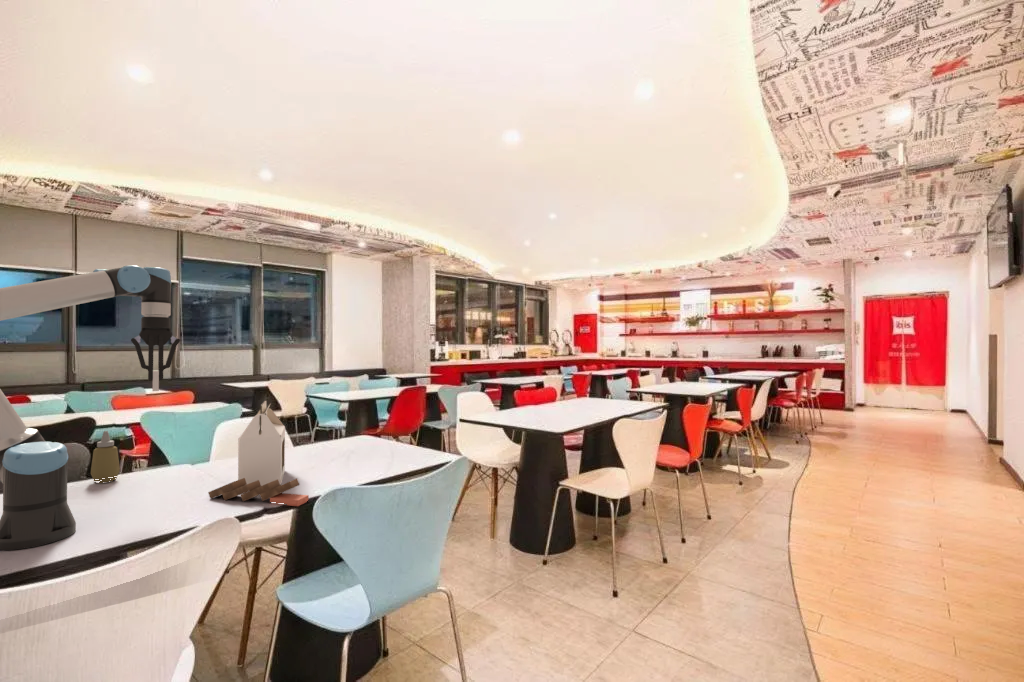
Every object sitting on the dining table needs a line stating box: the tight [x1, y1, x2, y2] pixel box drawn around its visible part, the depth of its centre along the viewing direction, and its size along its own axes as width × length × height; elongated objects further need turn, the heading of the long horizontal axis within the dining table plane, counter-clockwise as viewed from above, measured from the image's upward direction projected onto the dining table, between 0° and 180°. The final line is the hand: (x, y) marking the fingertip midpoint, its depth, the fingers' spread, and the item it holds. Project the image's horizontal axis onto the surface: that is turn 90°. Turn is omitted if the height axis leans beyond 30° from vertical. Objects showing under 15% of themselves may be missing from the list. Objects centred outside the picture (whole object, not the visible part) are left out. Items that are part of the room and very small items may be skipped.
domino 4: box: [259, 478, 300, 502], centre depth 154 cm, size 2×5×10 cm
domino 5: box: [269, 492, 309, 507], centre depth 152 cm, size 2×5×10 cm
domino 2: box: [221, 480, 261, 501], centre depth 155 cm, size 2×5×10 cm
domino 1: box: [208, 478, 247, 499], centre depth 156 cm, size 2×5×10 cm
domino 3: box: [240, 479, 280, 502], centre depth 154 cm, size 2×5×10 cm
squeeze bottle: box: [90, 430, 121, 484], centre depth 174 cm, size 8×8×18 cm
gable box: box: [237, 400, 286, 486], centre depth 177 cm, size 22×13×28 cm, turn 22°
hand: (155, 390), depth 155 cm, fingers closed
